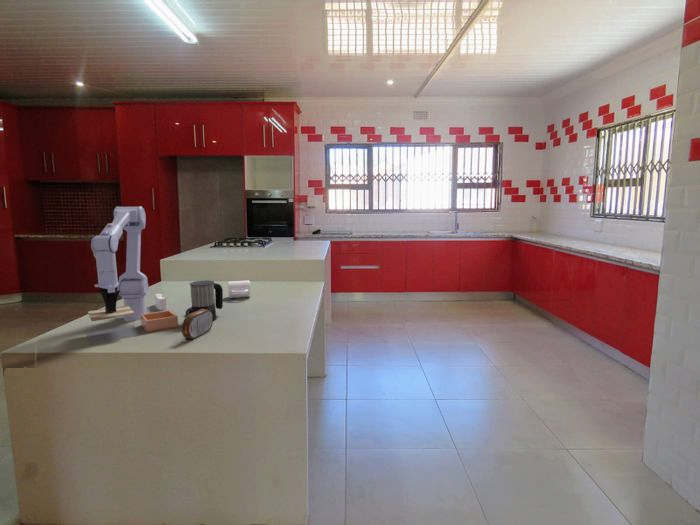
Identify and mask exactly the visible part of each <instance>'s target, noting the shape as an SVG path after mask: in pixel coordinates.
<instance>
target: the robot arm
mask: <svg viewBox="0 0 700 525" xmlns="http://www.w3.org/2000/svg"><path fill="white" fill-rule="evenodd" d="M146 216H147V215H146V211H145V208H143V206H142V205H140V206H116V207H115V208H114V210H113V220H112V221H111V223H109V222H108V223H107V224H106V225H105V227H104V228H103V229H102V230H101V232H100V234H98V235H95V236H94V237H92V238H91V243H90V248H91V251H92V253H93V257H94V258H95V260H96V272H97V283H96V284H94V287H95V288H99V289H98V291H99V293H100V295H101V296H102V300H103V302H104V304H105V303H106V307H107V310H108V312H109V311H115V309H116V307H117V300H118V297H119V296H120V297H121V299H123V306H129V307H130V308H131V309H132V310H133V312H134V313H135V315H131V316H124V317H122V318H123V319H124V321H125V322H127V323H128V322H132V321H138V320H140V321H141V317H140V315H142V314H147V313H146V301H145V296H146V295H147V294H148V293H149V282H148V277H147V275H146V274H144V273H143V272H141V247H142V246H141V245H142V239H141V238H142V231H143V230H145V229H146V222H147V221H146V220H147V218H146ZM123 230H124V231H126V253H125V254H126V257H125V258H126V262H125V272H124V273H122V274H121V275H120V276H119V277H118V270H117V269H118V268H117V261H116V260H117V259H116V252H117V251H118V247H119V240H120V239H121V237H122V235H123V234H124V233H123V232H124V231H123Z"/></svg>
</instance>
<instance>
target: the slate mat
mask: <svg viewBox="0 0 700 525" xmlns="http://www.w3.org/2000/svg"><path fill="white" fill-rule="evenodd" d="M85 334H86V337H87V340H88V343H89V345H94V344H101V343H105V342H111V341H117V340H122V339H130V338H134V337H139V336H142V335H141V333H140V331H139V330H138V328H136V326H135V325H134V324H132V325H125V326H118V327H112V328H106V329H99V330H94V331H88V332H85Z"/></svg>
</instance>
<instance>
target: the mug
mask: <svg viewBox="0 0 700 525" xmlns="http://www.w3.org/2000/svg"><path fill="white" fill-rule="evenodd" d="M227 291H228V299H238V298H239V299H240V298H250V297H251V296H252V295H251V281H250V280H249V279H247V280H234V281H227Z"/></svg>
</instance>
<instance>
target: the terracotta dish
mask: <svg viewBox="0 0 700 525" xmlns="http://www.w3.org/2000/svg"><path fill="white" fill-rule="evenodd" d="M140 317H141V319H140V326H141V328H143V330H144V331H145V332H146V333H151V332H155V331H157V332H158V331H163V330H169V329H173V328H178V327H179V319H178V318H179V317H178V315H177V314H176V313H174V312H173V310H170V309H169V310H160V311H155V312H149V313H146V314H142V315H140Z"/></svg>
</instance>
